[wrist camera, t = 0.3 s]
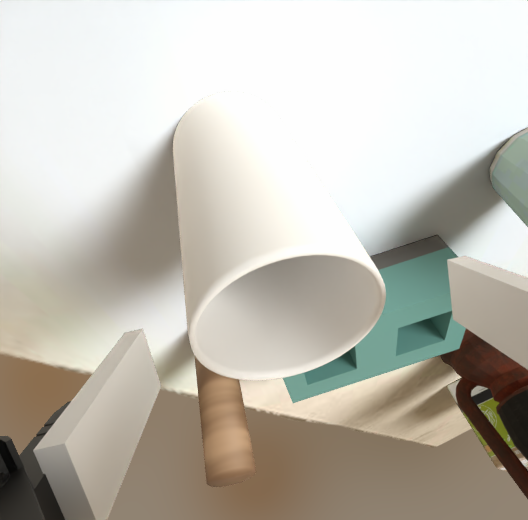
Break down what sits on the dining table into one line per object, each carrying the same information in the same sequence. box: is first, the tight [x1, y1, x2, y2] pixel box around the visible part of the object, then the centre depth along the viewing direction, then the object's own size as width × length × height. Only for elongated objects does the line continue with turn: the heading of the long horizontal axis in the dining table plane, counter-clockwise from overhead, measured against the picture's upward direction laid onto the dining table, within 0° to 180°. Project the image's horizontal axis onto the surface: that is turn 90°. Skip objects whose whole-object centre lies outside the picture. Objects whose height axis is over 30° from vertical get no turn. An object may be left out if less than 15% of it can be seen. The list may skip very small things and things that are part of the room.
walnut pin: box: [195, 357, 256, 487], centre depth 34 cm, size 4×4×15 cm
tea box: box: [447, 380, 528, 471], centre depth 62 cm, size 15×10×15 cm
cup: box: [173, 92, 386, 381], centre depth 20 cm, size 8×8×16 cm
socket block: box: [283, 235, 466, 403], centre depth 39 cm, size 12×20×7 cm, turn 103°
